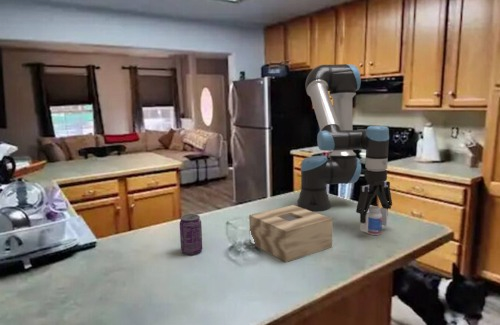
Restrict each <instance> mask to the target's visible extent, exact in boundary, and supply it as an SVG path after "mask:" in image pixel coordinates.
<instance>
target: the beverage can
mask: <svg viewBox="0 0 500 325" xmlns="http://www.w3.org/2000/svg"><path fill="white" fill-rule="evenodd" d="M202 229H203V228H202V220H201V217H200V215H198V214H197V213H196V214H193V213H191V214H185V215H182V216H180V222H179V238H180V240H179V241H180V252H181V253H183V254H185V255H190V256H191V255H195V254H199V252H202V251H203V232H202V231H203V230H202Z"/></svg>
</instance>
